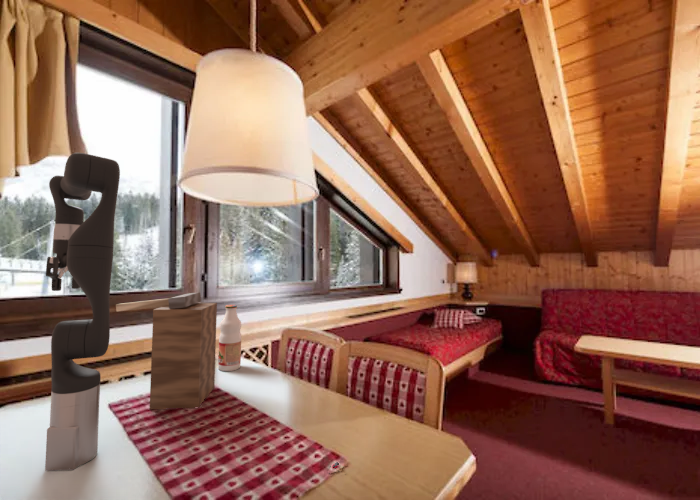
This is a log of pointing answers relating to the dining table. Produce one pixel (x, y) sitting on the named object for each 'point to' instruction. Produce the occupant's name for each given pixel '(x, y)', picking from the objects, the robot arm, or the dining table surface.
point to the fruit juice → (230, 341)
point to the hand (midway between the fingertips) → (66, 289)
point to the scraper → (162, 302)
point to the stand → (183, 355)
